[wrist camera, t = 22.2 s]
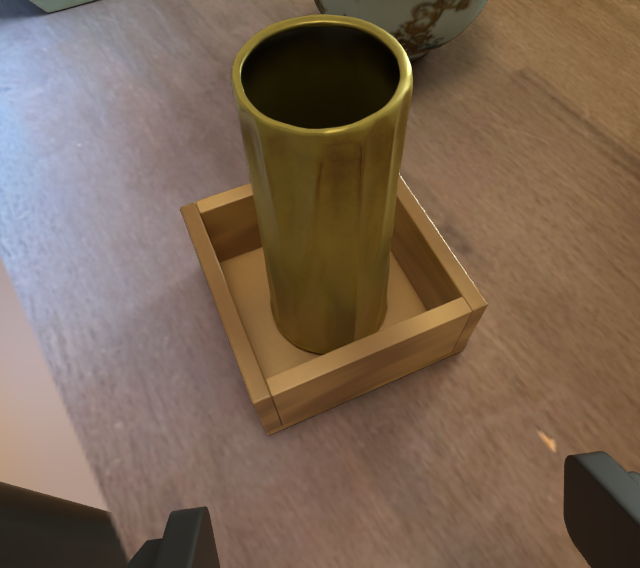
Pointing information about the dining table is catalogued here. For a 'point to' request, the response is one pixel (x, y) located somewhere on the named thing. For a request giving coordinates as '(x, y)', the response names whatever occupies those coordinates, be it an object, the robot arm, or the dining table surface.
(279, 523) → the dining table surface
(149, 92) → the dining table surface
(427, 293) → the holder
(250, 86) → the vase
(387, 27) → the bowl
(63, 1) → the planter
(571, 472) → the robot arm
